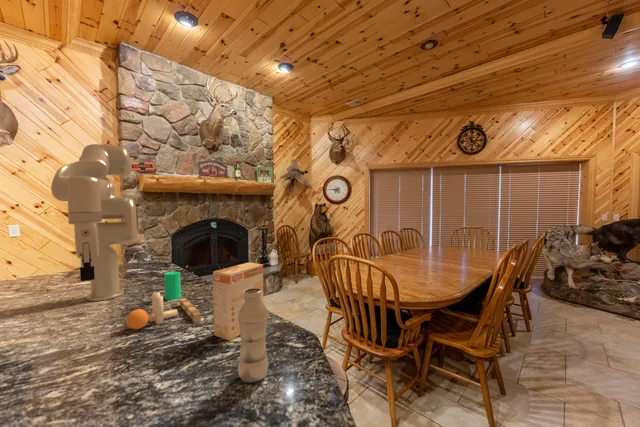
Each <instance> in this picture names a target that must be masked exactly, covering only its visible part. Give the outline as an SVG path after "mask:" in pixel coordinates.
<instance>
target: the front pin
mask: <svg viewBox="0 0 640 427" xmlns="http://www.w3.org/2000/svg"><path fill="white" fill-rule="evenodd" d="M178 313H179V312H178V309H177V308H176V309H171V310H165V311H163V318H164V320H166V319H170V318H174V317H178ZM148 315H149V320H148V322H149V323H153V322H155V314H153V313H151V314H148Z"/></svg>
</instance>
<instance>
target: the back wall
mask: <svg viewBox="0 0 640 427" xmlns="http://www.w3.org/2000/svg"><path fill="white" fill-rule="evenodd" d="M179 306H180V307H181V309H182V310H183V311H184V313H186V315H187V316H188V317H189V318H190V319H191V321H193V323H197V322H201V313H200V311H199V310H198V309H197V308H196V307H195V306H194V305H193V304H192V303H191V302H190V301H189V300H188V299H187V298H185V297H183V298H179Z"/></svg>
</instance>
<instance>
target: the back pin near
mask: <svg viewBox="0 0 640 427" xmlns="http://www.w3.org/2000/svg"><path fill="white" fill-rule="evenodd" d="M163 312H164V297H163V295H160V296H157V297H155V321H154V324H155V325H159V324H163V323H164V320H165V319H164V318H163Z"/></svg>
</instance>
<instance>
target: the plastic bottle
mask: <svg viewBox="0 0 640 427" xmlns="http://www.w3.org/2000/svg"><path fill="white" fill-rule="evenodd" d="M261 298H262V296H261V289H258V288H251V289H247V290H245V291H244V300H245V303H244V304H243V305H242V307H241V309H240V310H239V314H238V320H239V327H240V335H239V336H240V351H239V359H238V365H237V366H238V367H237V371H238V372H237V373H238V376H239V378H240V380H242V381H243V382H244V383H249V384H251V383H257V382H260V381H262V380H263V379H264V378H265V377H266V375H267V373H268V371H269V360H268V355H267V346H266V344H267V343H266V337H267V336H266V335H267V334H266V333H267V324H268V317H269V316H268V315H269V312H268V308H267V307H266V305H265V304H263V303H262V301H261V300H260V299H261Z"/></svg>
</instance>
